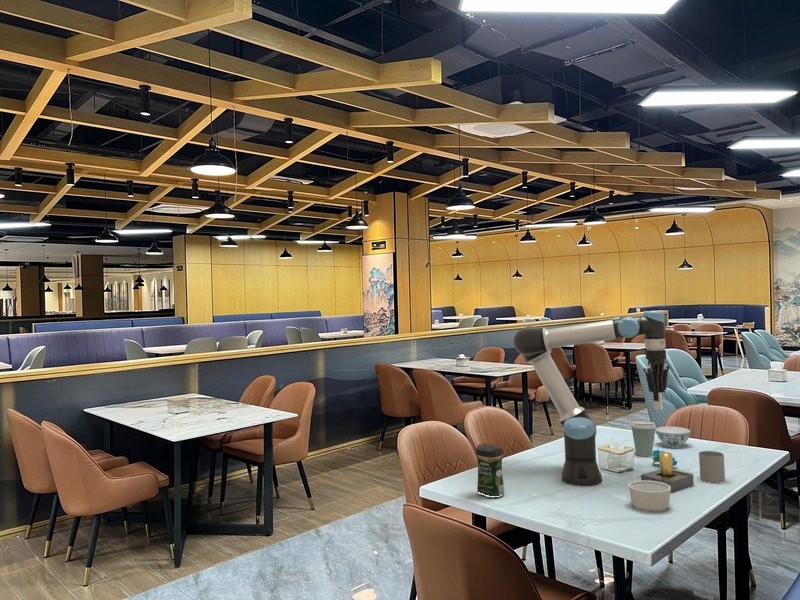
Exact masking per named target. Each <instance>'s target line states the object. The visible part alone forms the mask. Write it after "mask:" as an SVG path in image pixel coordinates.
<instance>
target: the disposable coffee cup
mask: <svg viewBox="0 0 800 600" xmlns="http://www.w3.org/2000/svg"><path fill="white" fill-rule="evenodd" d="M630 426H631V427H630V428H631V432H632V439H633V444H634V448H635V454H636V455H637V456H639V457H645V458H646V457H647V456H648V457H652V456H653V451H654V444H655V443H654V442H655V434H656V430H655V429H656V428H657V426H656V423H655V422H652V421H639V420H638V421H633V422H632V423H630ZM648 457H647V458H648Z"/></svg>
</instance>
